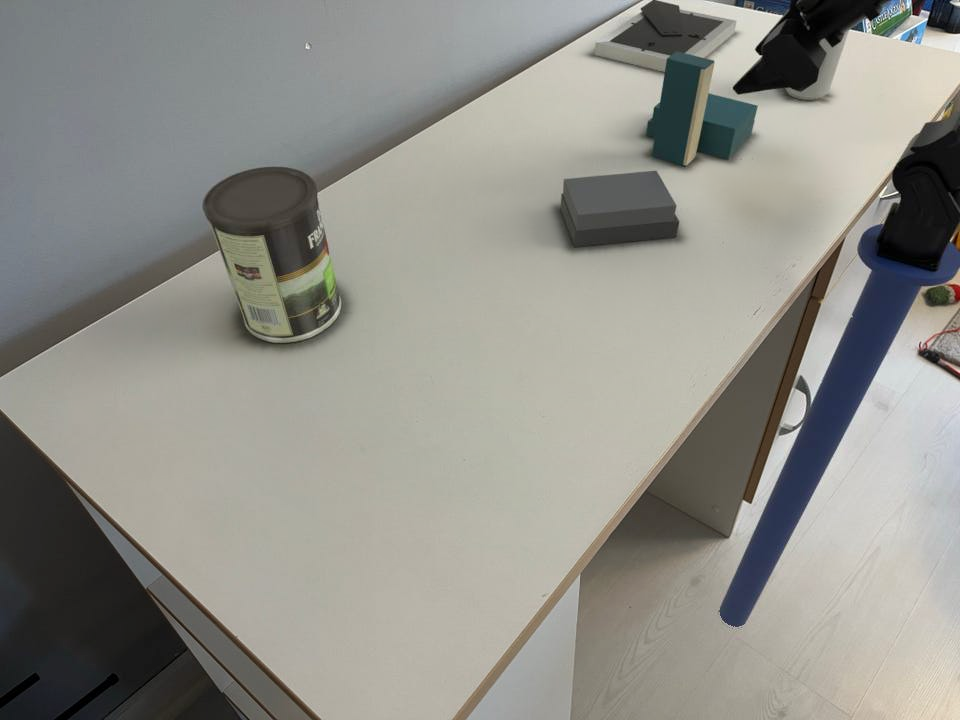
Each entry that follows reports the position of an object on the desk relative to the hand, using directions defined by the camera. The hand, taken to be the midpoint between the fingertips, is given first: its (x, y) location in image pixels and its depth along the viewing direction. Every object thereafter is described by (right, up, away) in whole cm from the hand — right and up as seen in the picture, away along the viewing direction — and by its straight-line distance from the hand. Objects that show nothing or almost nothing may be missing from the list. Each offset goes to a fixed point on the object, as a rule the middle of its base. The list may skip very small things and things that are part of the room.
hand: (746, 70), depth 82 cm
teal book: (-5, -6, +13) cm, 15 cm away
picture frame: (+1, +20, +39) cm, 44 cm away
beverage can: (+18, +7, +25) cm, 31 cm away
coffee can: (-51, -28, -7) cm, 58 cm away
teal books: (0, -2, +17) cm, 17 cm away
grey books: (-15, -17, +2) cm, 23 cm away
